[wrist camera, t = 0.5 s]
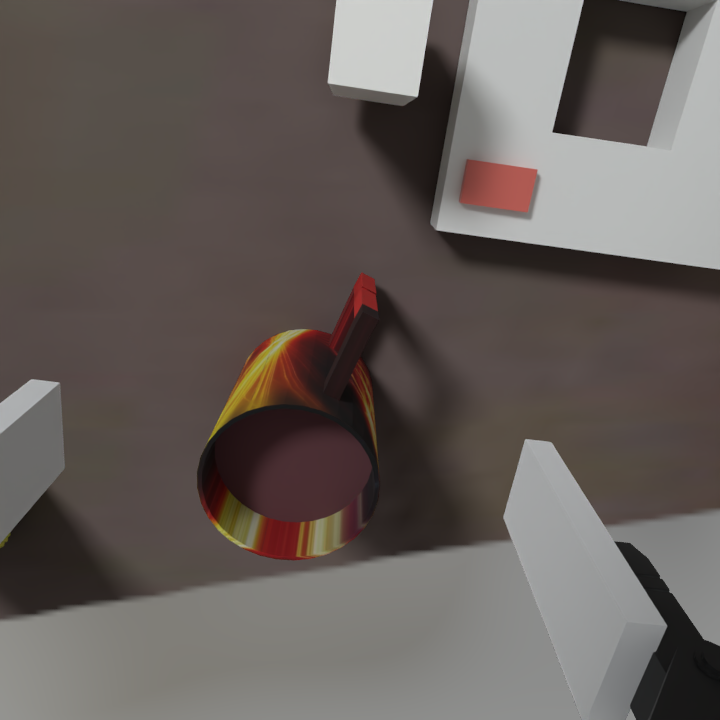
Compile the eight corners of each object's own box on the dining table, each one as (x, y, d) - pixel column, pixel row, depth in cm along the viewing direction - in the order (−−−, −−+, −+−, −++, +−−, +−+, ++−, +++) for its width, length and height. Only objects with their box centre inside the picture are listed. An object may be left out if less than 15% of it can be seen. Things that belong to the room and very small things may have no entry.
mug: (373, 268, 38) (382, 322, 27) (373, 450, 43) (380, 559, 32) (228, 269, 38) (176, 324, 27) (244, 451, 43) (206, 561, 32)
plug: (345, 2, 33) (342, -52, 23) (414, 13, 33) (438, -36, 24) (334, 98, 34) (327, 83, 25) (400, 107, 35) (417, 97, 25)
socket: (498, -163, 30) (516, -201, 27) (822, -104, 31) (879, -133, 28) (430, 223, 37) (437, 231, 34) (696, 260, 38) (728, 272, 35)
